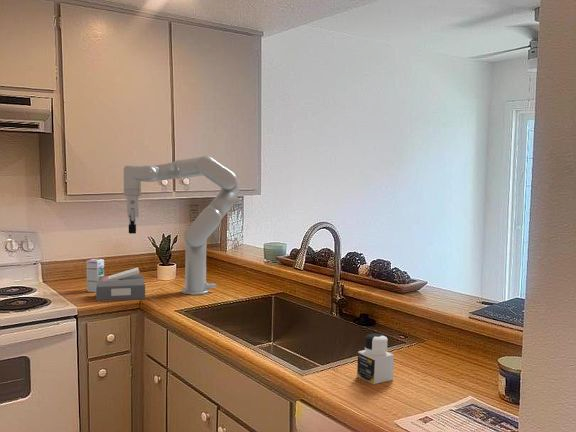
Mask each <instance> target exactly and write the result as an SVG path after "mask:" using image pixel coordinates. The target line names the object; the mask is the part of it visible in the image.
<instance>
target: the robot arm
mask: <svg viewBox="0 0 576 432" xmlns="http://www.w3.org/2000/svg"><path fill="white" fill-rule="evenodd" d="M203 176H204V177H205V178H206V179H208V180H209V181H211V182H213V183H214V184H216V185H217V186H218V187H220V191H219V192H218V194H217V195H216V196H215V197H214V198H213V200H212V201H211V202H210V203H209V204H208V205H207V206H206V207H205V208H203V210H202V211H201V212H200V213H199V214H198V216H197V217H196V218H195V219H194V220H193V221H192V222H191V223H190V225H189V226H188V227H187V228H186V229H185V231H184V234H183V241H184V243H185V252H184V253H185V260H184V261H185V262H184V264H185V265H184V266H185V269H184V270H185V271H184V272H185V273H184V274H185V275H184V276H185V277H184V278H185V279H184V280H185V282H184V288H182V289H181V293H182V294H184V295H194V296H196V295H197V296H199V295H205V294H208V293H210V289H215V288H217V284H216V283H211V282H209V283H208V282H207V247H208V245H207V243H208V238H209V237H210V236H211V235H212V234H213V232H215V230H216V229H217V228H218V227H219V226H220V223H221V222H222V219H223V218H224V217H225V216H226V215H227V213H229V211H230V209H232V207H233V206H234V205H235V203H236V201H237V199H238V197H239V194H240V183H239V180H238V177H237V175H236V174H235V172H234V171H231V170H230V169H228V168H227V167H226V166H224V165H222V164H221V163H220V162H218V161H216V160H215V159H214V158H213V157H211V156H208V155H203V156H199V157H192V158H191V157H190V158H185V159H178V160H174V161H173V162H167V163H162V164H161V163H160V164H154V165H151V164H149V165H125V166H124V167H123V197H126V203H125V204H126V215H127V218H128V234H136V233H137V224H136V223H137V221H136V219H139V218H140V211H139V210H140V201H139V200H140V199H139V197H141V196H142V182H144V183H155V182H160V181H168V180H175V179H176V180H181V179H188V178H189V179H190V178H195V177H203Z"/></svg>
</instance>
